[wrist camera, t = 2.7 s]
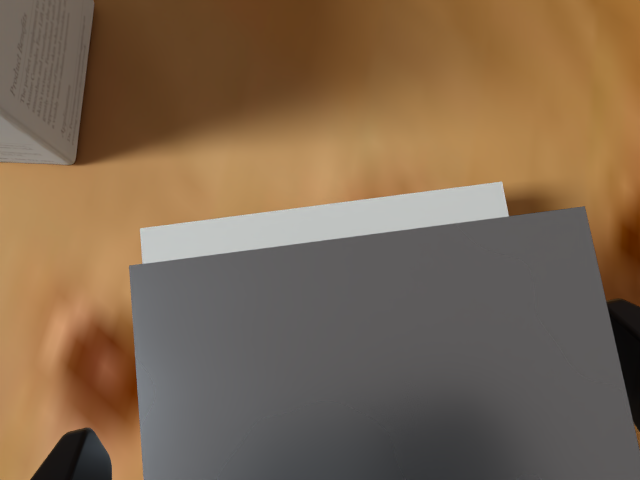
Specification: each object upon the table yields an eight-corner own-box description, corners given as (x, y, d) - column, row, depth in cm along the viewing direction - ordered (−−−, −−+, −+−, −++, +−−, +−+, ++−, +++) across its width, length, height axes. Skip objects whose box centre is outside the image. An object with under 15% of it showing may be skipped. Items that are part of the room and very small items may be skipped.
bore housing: (542, 542, 17) (579, 575, 14) (192, 590, 16) (169, 632, 14) (478, 204, 18) (502, 181, 16) (165, 245, 18) (139, 228, 16)
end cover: (460, 477, 17) (873, 862, 4) (255, 505, 17) (35, 986, 4) (426, 274, 18) (669, 86, 5) (234, 300, 18) (10, 170, 5)
